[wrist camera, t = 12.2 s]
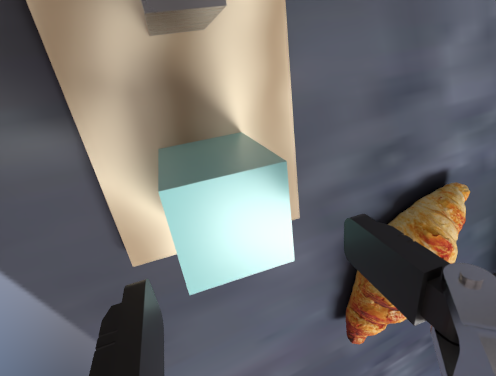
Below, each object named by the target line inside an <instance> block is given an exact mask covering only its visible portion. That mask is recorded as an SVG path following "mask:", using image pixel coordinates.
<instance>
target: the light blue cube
mask: <svg viewBox="0 0 496 376" xmlns="http://www.w3.org/2000/svg"><path fill="white" fill-rule="evenodd" d="M158 193H159V196H160V199H161V202H162V206H163V209H164V212H165V216H166V219H167V222H168V226H169V229H170V232H171V235H172V239H173V242H174V245H175V249H176V252H177V255H178V259H179V262H180V265H181V268H182V272H183V275H184V278H185V282H186V285H187V288H188V292H189V295H192V294H195V293H198V292H201V291H204V290H207V289H210V288H213V287H216V286H219V285H222V284H225V283H228V282H231V281H234V280H237V279H240V278H243V277H246V276H249V275H252V274H256V273H259V272H262V271H265V270H268V269H271V268H274V267H277V266H280V265H283V264H286V263H289V262H292V261H294V248H293V235H292V222H291V209H290V196H289V184H288V171H287V161H286V160H284V159H283V158H281V157H279V156H278V155H276V154H275V153H273V152H272V151H270V150H269V149H267V148H265V147H264V146H262V145H261V144H259V143H258V142H256V141H255V140H253V139H252V138H250V137H248V136H247V135H245V134H244V133H242V132H240V133H235V134H230V135H225V136H220V137H215V138H210V139H205V140H200V141H195V142H190V143H186V144H181V145H176V146H171V147H166V148H161V149H158Z"/></svg>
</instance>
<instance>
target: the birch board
mask: <svg viewBox="0 0 496 376" xmlns="http://www.w3.org/2000/svg"><path fill="white" fill-rule="evenodd" d="M26 2H27V4H28V7H29V9H30V12H31V14H32V16H33V19H34V21H35V24H36V26H37V29H38V31H39V34H40V36H41V39H42V41H43V44H44V46H45V49H46V51H47V54H48V56H49V59H50V61H51V64H52V66H53V69H54V71H55V74H56V76H57V79H58V81H59V84H60V86H61V89H62V91H63V94H64V96H65V99H66V101H67V104H68V106H69V109H70V111H71V114H72V116H73V119H74V121H75V124H76V126H77V128H78V131H79V133H80V136H81V138H82V141H83V143H84V146H85V148H86V151H87V153H88V156H89V158H90V161H91V163H92V166H93V168H94V171H95V173H96V176H97V178H98V181H99V183H100V186H101V188H102V191H103V193H104V196H105V198H106V201H107V203H108V206H109V208H110V211H111V213H112V216H113V218H114V221H115V223H116V226H117V228H118V231H119V233H120V236H121V238H122V240H123V243H124V245H125V248H126V250H127V253H128V255H129V258H130V260H131V263H132V265H133V267H135V266H138V265H141V264H145V263H148V262H152V261H155V260H158V259H162V258H165V257H169V256H172V255H175V254H177V252H176V249H175V245H174V242H173V239H172V235H171V232H170V229H169V226H168V222H167V219H166V216H165V212H164V209H163V206H162V202H161V199H160V196H159V193H158V149H161V148H166V147H171V146H176V145H181V144H186V143H190V142H195V141H200V140H205V139H210V138H215V137H220V136H225V135H230V134H235V133H240V132H242V133H244V134H245V135H247V136H248V137H250V138H252V139H253V140H255V141H256V142H258V143H259V144H261V145H262V146H264V147H265V148H267V149H269V150H270V151H272V152H273V153H275V154H276V155H278V156H279V157H281V158H283V159H284V160H286V161H287V171H288V184H289V196H290V209H291V220H294V219H298V218H300V217H299V202H298V186H297V171H296V156H295V141H294V126H293V110H292V95H291V80H290V65H289V50H288V35H287V19H286V4H285V0H226V4H227V6H226V7H225V8H224V9H223V10H222V11H221V12H220V13H219V14H218V15H217V17H216V18H215V19H214V20H213V21H212V22H211V23H210V24H209V25H208V26H207V27H206V28H205V29H204V30H197V31H189V32H180V33H172V34H163V35H154V36H149V32H148V28H147V24H146V20H145V16H144V12H143V8H142V4H141V0H26Z"/></svg>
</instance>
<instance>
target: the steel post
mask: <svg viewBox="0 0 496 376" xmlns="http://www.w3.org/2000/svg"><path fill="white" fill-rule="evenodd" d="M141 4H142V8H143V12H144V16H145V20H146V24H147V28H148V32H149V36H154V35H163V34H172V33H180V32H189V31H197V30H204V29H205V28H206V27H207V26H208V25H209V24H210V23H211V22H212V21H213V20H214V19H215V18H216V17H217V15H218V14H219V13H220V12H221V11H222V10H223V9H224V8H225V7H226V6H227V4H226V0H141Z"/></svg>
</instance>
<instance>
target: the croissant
mask: <svg viewBox="0 0 496 376" xmlns="http://www.w3.org/2000/svg"><path fill="white" fill-rule="evenodd" d="M469 193H470V191H469V189H468V187H467V186H466V185H463V184H459V183H457V182H456V183H451V184H447V185H445V186H444V187H442V188H439V189H437V190H436V191H434V192H432V193H431V194H429V195H427V196H424V197H422V198H421V199H419V200H418V201H417V202H415V203H414V204H413V205H412V206H411V207H410V208H408V209H406V210H405V211H404V212H402V213H400V214H399V215H398V216H397V217H396V218H395V219H394V220H392V221H391V222H390V223H389V224H387V225H390V226H393V227H394V228H396V229H397V230H399V231H401V232H402V233H404V235H407V236H408V237H410V238H411V239H413V241H416V242H418V243H419V244H421V245H422V246H424V247H425V248H427V249H429V250H430V251H432V252H433V253H435V254H436V255H438V256H439V257H441V258H443V259H444V260H446V261H447V262H449V263H450V264H452V263H454V262H455V260H456V257H457V253H458V250H457V245H456V240H458V234H459V232H460V230H461V229H462V226H463V224H464V223H465V213H466V208H465V205H464V202H465V201H466V200H467V198H468V196H469ZM406 319H407V318H406V317H405V316H404V315H403V314H402V313H401V312H400V311H399V310H398V309H397V308H396V307H395V306H393V305H392V304H391V303H390V302H389V301H388V300H387V299H386V298H385V297H384V296H383V295H382V294H381V293H380V292H379V291H378V290H377V289H376V288H375V287H374V286H373V285H372V284H371V283H370V282H369V281H368V280H367V279H366V278H365V277H364V276H363V275H362V274H361V273H360V272H359V271H358V270H357V273H356V279H355V283H354V286H353V291H352V293H351V296H350V301H349V302H348V306H347V309H346V329H347V336H348V339H349V340H350V341H351V343H352V344H353V343H354V344H361V343H364V341H365V339H366V337H367V336H371V335H376V334H378V333H380V332H381V331H383V330H385V328H386V326H387V324H389V323H397V322H398V323H400V322H402V321H404V320H406Z"/></svg>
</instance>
